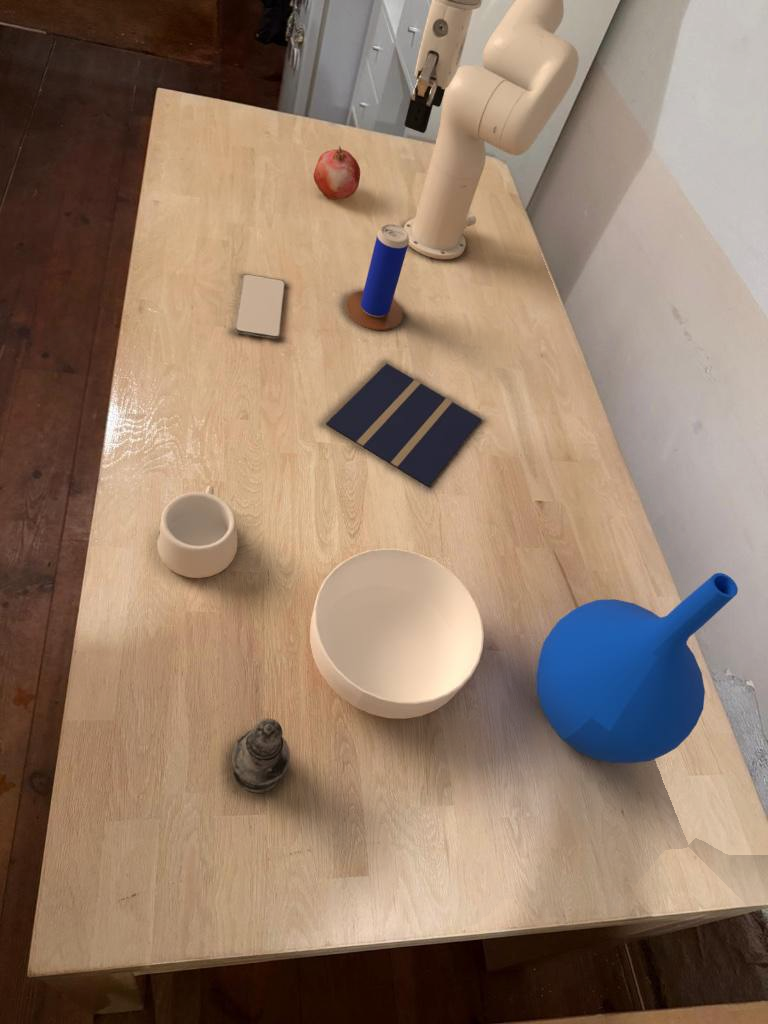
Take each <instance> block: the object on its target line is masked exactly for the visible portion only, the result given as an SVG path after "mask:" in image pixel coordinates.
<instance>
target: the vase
mask: <svg viewBox="0 0 768 1024" xmlns="http://www.w3.org/2000/svg"><path fill="white" fill-rule="evenodd" d="M738 590H739V588H738V585H737V583H736V582H735V581H734V579H733V578H732V577H731V576H729V575H727V574H726V573H723V572H716V573H713V574H712V575H711V576H710V577H709V578H707V580H706V581H704V582H703V583H702V584H701V585H700V586H698V587H697V588H696V589H695V590H693V592H691V593H690V594H689V595H688V596H687V597H686V598H685V599H683V600H682V601H681V602H679V604H677V605H676V606H675V608H673V609H672V610H671V611H670V612H669V613H668V614H667V615H664V616H662V617H660V616H659V615H657V614H655V613H654V612H653V611H652V610H650V609H647V608H645V607H643V606H640V605H639V604H636V603H634V602H629V601H624V600H621V599H616V598H615V599H614V598H613V599H612V598H611V599H610V598H609V599H596V600H594V601H590V602H587V603H584V604H581V605H580V606H578V607H576V608H574V609H573V610H571V611H570V612H568V613H567V614H565V615H564V616H563V617H562V618H560V619H559V620H558V621H557V622H556V623H555V625H554V626H553V627H552V629H551V630H550V632H549V634H548V635H547V636H546V637H545V639H544V640H543V643H542V646H541V650H540V654H539V658H538V664H537V669H536V692H537V696H538V700H539V703H540V704H539V705H540V707H541V710H542V711H543V713H544V715H545V717H546V719H547V721H548V723H549V725H550V726H551V728H552V729H553V730H554V731H555V733H556V734H557V735H558V736H559V737H560V738H561V740H563V741H564V742H565V743H566V744H568V745H569V746H571V747H572V748H573V749H575V750H576V751H577V752H579V753H581V754H583V755H585V756H587V757H590V758H592V759H594V760H596V761H600V762H606V763H612V764H634V763H635V764H636V763H644V762H653V760H656V759H658V758H661V757H662V756H665V755H667V754H669V753H670V752H672V751H674V750H675V749H677V748H678V747H679V746H680V745H681V744H682V743H683V742H684V741H685V740H686V739H687V738H688V737H689V736H690V734H691V733H693V732H692V731H693V730H694V729H695V727H696V726H697V724H698V722H699V720H700V717H701V715H702V713H703V711H704V706H705V695H706V690H705V684H704V679H703V673H702V671H701V667H700V665H699V663H698V661H697V658H696V656H695V653H694V652H693V651H692V650H691V647H689V645H688V640H689V639H690V638H691V637H692V636H693V635H694V634H695V633H696V632H697V631H699V630H700V629H701V628H702V627H703V626H704V625H706V623H708V622H709V621H710V620H711V619H712V618H713V617H714V616H715V615H716V614H717V613H718V612H720V610H721V609H723V608H724V607H725V606H726V605H727V604H728V603H729V602H730V601H731V600H732V599H734V597H736V596H737V595H738Z"/></svg>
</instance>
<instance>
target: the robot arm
mask: <svg viewBox="0 0 768 1024" xmlns="http://www.w3.org/2000/svg"><path fill="white" fill-rule="evenodd" d="M482 3H483V0H431V2H430V6H429V10H428V14H427V17H426V22H425V24H424V29H423V34H422V38H421V41H420V46H419V49H418V50H419V51H418V56H417V59H416V64H415V70H414V77H415V79H416V82H415V86H414V89H413V92H412V94H411V97H410V98H409V99H410V100H409V103H408V108H407V111H406V116H405V121H404V127H405V128H408V129H410V130H413V131H415V132H418V133H421V134H425V133H426V131H427V129H428V125H429V122H430V118H431V114H432V110H433V107H437V108H439V107H441V111H440V112H441V113H440V122H439V126H438V127H439V128H438V132H437V135H436V136H437V137H436V141H435V144H434V148H433V151H432V155H431V159H430V162H429V165H428V170H427V172H426V176H425V180H424V184H423V187H422V190H421V194H420V197H419V202H418V205H417V209H416V212H415V216H414V217H413V218H411V219H408V220H407V221H406V222H405V223H404V224H403V225H404V226H403V229H405V230H406V231H407V233H408V235H409V244H408V247H410V248H412V250H414V251H415V252H417V253H419V254H421V255H423V256H425V257H428V258H432V259H436V260H452V259H455V258H458V257H460V256H461V255H462V254H463V253H464V251H465V248H466V245H467V242H466V238H465V237H464V235H463V233H464V231H465V230H466V229H467V227H470V226H471V227H472V226H473V225H475V224H476V222H477V217H476V216H475V215H474V214H469V212H470V209H471V206H472V203H473V200H474V198H475V194H476V192H477V188H478V186H479V182H480V179H481V177H482V174H483V171H484V169H485V166H486V165H485V164H486V158H487V157H486V154H487V153H486V152H487V151H486V145H485V143H487V144H489V145H491V146H493V147H495V148H497V149H499V150H501V152H505V153H506V154H508V155H512V156H521V155H522V154H524V153H526V152H527V151H528V150H529V149H530V148H531V146H532V145H533V144H534V142H536V140H537V138H538V137H539V135H540V134H541V133H542V131H543V130H544V128H545V127H546V125H547V123H548V122H549V120H551V117H552V116H553V115H554V113H555V112H556V110H557V109H558V108H559V106H560V104H561V103H562V101H564V99H565V97H566V95H567V94H568V92H569V90H570V88H571V87H572V84H573V82H574V80H575V78H576V75H577V72H578V68H579V63H580V61H579V60H580V59H579V54H578V53H579V52H578V51H577V49H576V47H575V46H574V45H573V44H572V43H570V42H569V41H567V40H566V39H564V38H562V37H560V36H558V35H556V34H555V33H556V31H557V30H558V28H559V27H560V26H561V23H562V21H563V20H564V19H563V18H564V14H565V10H564V8H565V7H564V0H514V2H513V3H512V4H511V6H510V7H509V9H508V11H507V12H506V13H505V15H504V16H503V18H502V19H501V21H500V22H499V23H498V25H497V26H496V28H495V30H493V32H492V34H491V35H490V36H489V39H488V40H487V42H486V45H484V48H483V52H482V58H481V59H482V66H483V67H482V66H478V65H474V64H465V65H461V66H460V63H461V59H462V55H463V51H464V47H465V43H466V39H467V36H468V33H469V28H470V24H471V20H472V15H473V12H474V10H476V9H479V8H481V6H482Z"/></svg>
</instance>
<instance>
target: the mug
mask: <svg viewBox="0 0 768 1024" xmlns="http://www.w3.org/2000/svg"><path fill="white" fill-rule="evenodd" d="M214 491H215V489H214V487H213V486H212V485H208V486H207V487H206V489H205V492H203V491H194V492H186V493H183V494H181V495H178V496H177V497H175V498H173V499H172V500H171V501H170V502H169V503H168V504H167V505H166V506H165V508H164V509H163V511H162V513H161V518H160V524H159V528H158V534H157V542H156V545H157V551H158V556H159V557H160V559H161V561H162V563H163V564H164V565H165V566H166V568H168V569H169V570H170V571H172V572H174V573H175V574H177V575H180V576H182V577H185V578H193V579H202V578H208V577H209V578H210V577H212V576H215V575H217V574H220V573H221V572H222V571H225V569H227V568H228V567H229V566H230V564H231V563H232V562H233V561H234V559H235V557H236V554H237V551H238V541H239V540H238V530H237V520H236V516H235V513H234V511H233V509H232V507H231V505H230V504H229V503H228V502H226V501H225V500H224V499H223V498H221V497H219V496H217V495H215V493H214Z"/></svg>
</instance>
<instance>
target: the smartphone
mask: <svg viewBox="0 0 768 1024" xmlns="http://www.w3.org/2000/svg"><path fill="white" fill-rule="evenodd" d="M285 284H286V282H285V281H284V280H282V279H278V278H272V277H267V276H261V275H255V274H249V273H245V274H243V277H242V283H241V289H240V296H239V303H238V309H237V316H236V322H235V327H234V331H235V332H236V333H237V334H242V335H248V336H254V337H261V338H267V339H272V340H277V339H280V332H281V322H282V314H283V313H282V312H283V303H284V296H285V295H284V294H285Z"/></svg>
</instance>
